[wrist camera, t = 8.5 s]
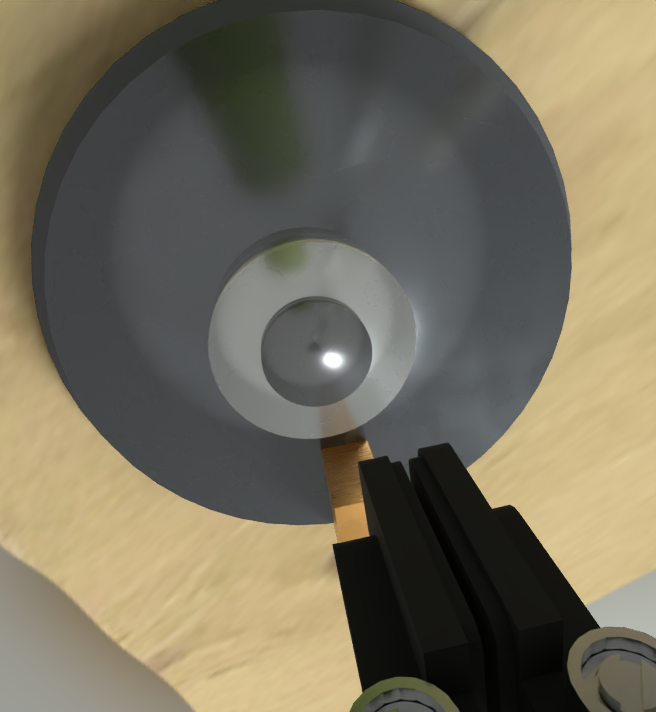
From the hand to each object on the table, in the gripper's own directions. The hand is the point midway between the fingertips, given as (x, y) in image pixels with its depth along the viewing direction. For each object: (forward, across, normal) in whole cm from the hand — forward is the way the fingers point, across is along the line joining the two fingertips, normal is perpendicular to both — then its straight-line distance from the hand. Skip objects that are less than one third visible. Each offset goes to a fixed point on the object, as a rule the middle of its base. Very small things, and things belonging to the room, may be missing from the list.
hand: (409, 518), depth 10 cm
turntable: (+14, 0, 0) cm, 14 cm away
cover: (+12, +1, 0) cm, 12 cm away
